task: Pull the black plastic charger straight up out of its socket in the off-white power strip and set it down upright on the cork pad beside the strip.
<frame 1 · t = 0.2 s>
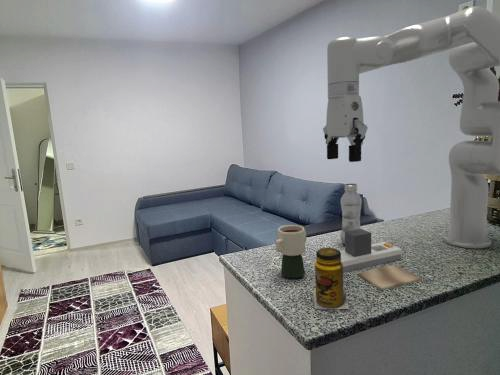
hand: (343, 160, 85), 30 cm above the worktop, tool pointing down, fingers open, 9 cm apart
charger: (358, 252, 93), point 3 cm above the worktop, touching power strip
character mug: (293, 275, 88), on the worktop
condiment: (330, 300, 75), on the worktop
cork pad: (388, 277, 84), on the worktop
power strip: (364, 261, 94), on the worktop
plastic bottle: (351, 244, 108), on the worktop
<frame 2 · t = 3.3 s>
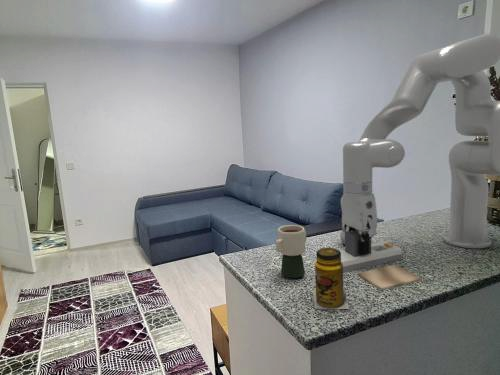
hand: (358, 250, 93), 4 cm above the worktop, tool pointing down, fingers closed on charger, 4 cm apart
charger: (358, 252, 93), point 3 cm above the worktop, touching gripper, power strip
everything else where it was.
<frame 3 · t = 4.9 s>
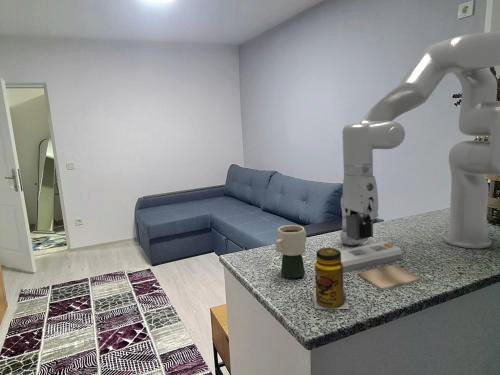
hand: (359, 234, 92), 8 cm above the worktop, tool pointing down, fingers closed on charger, 4 cm apart
charger: (359, 236, 92), point 8 cm above the worktop, touching gripper
everything else where it was.
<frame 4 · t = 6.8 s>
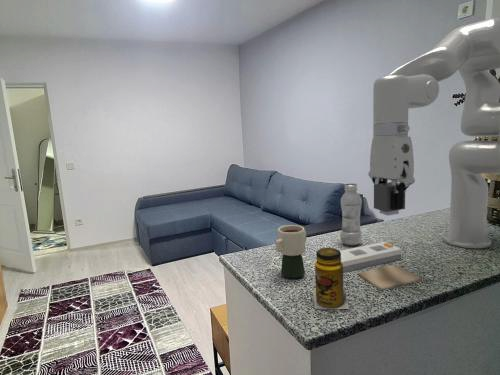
hand: (389, 206, 80), 19 cm above the worktop, tool pointing down, fingers closed on charger, 4 cm apart
charger: (389, 208, 80), point 18 cm above the worktop, touching gripper
everything else where it was.
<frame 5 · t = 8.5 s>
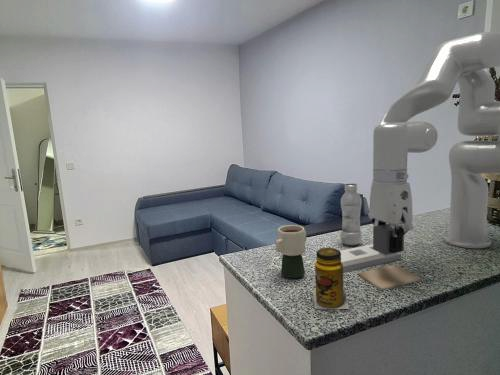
hand: (388, 247, 82), 8 cm above the worktop, tool pointing down, fingers closed on charger, 4 cm apart
charger: (388, 250, 82), point 7 cm above the worktop, touching gripper
everything else where it was.
when the fingers open (4 cm above the worktop, at t = 10.1 s): charger drops 1 cm, resting on cork pad.
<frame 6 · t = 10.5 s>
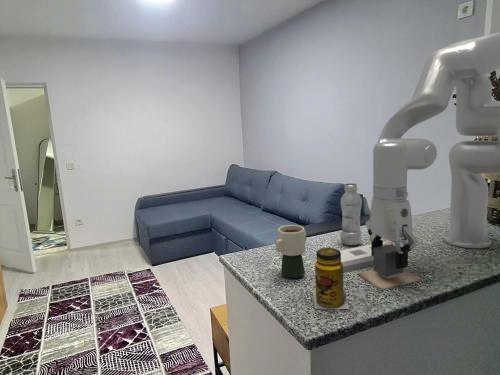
hand: (388, 260, 83), 4 cm above the worktop, tool pointing down, fingers open, 8 cm apart
charger: (388, 271, 83), point 2 cm above the worktop, touching cork pad
everything else where it was.
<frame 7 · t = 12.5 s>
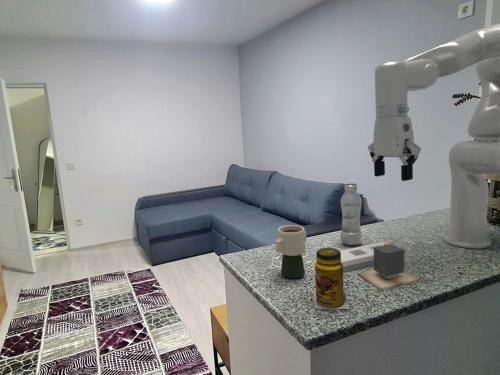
hand: (392, 177, 88), 24 cm above the worktop, tool pointing down, fingers open, 9 cm apart
nothing on the worktop moved.
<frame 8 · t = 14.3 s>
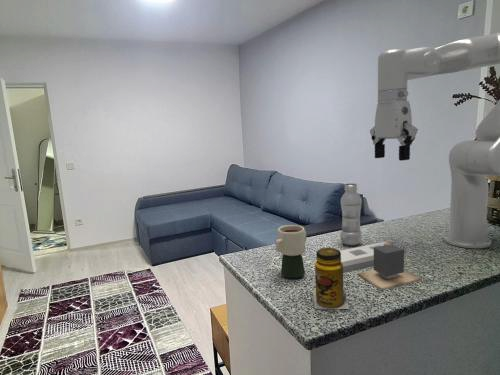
hand: (391, 158, 94), 28 cm above the worktop, tool pointing down, fingers open, 9 cm apart
nothing on the worktop moved.
at the end: charger inside the target area on the cork pad (0.1 cm from its centre), point 1.7 cm above the cork pad's base; charger tilted 0°; the gripper is holding nothing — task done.
